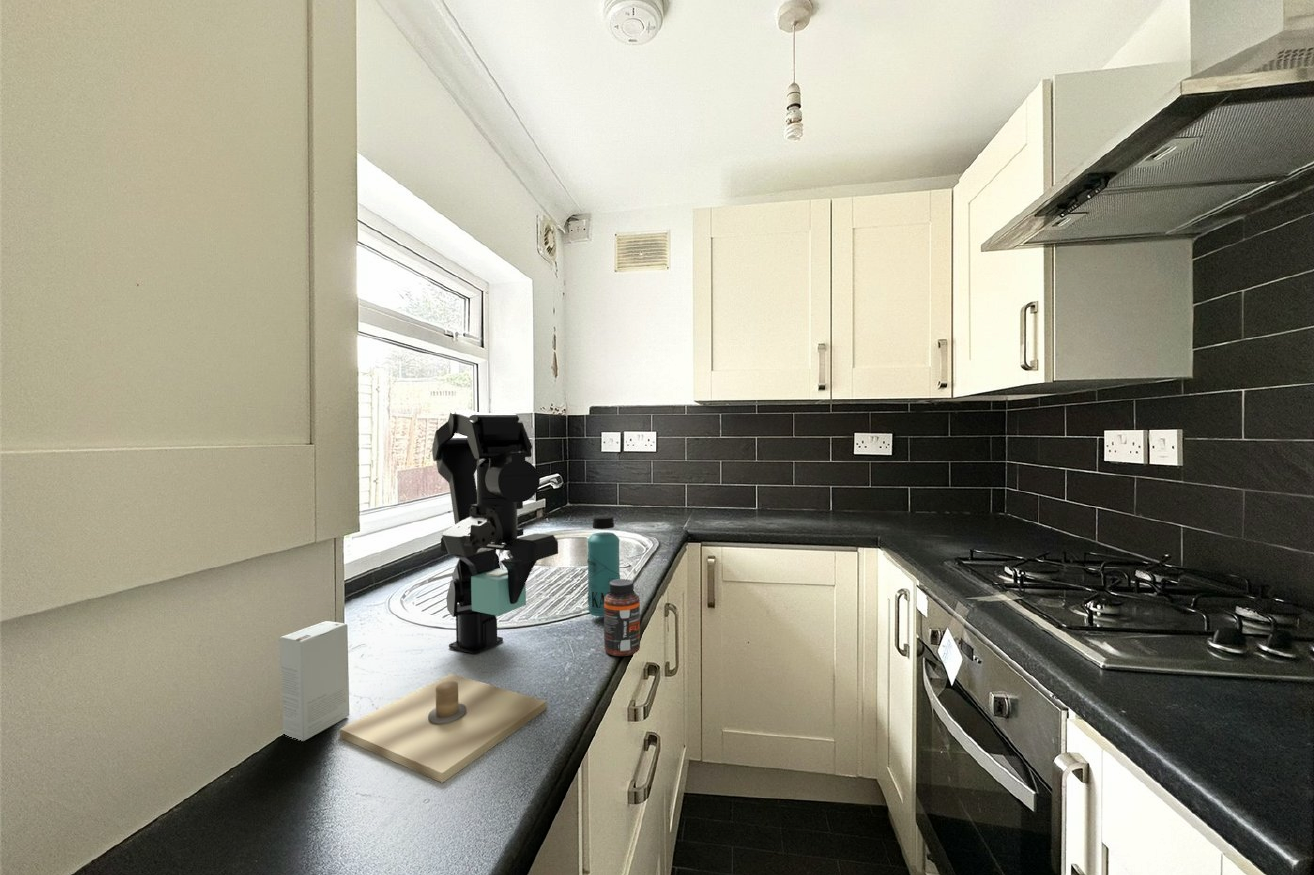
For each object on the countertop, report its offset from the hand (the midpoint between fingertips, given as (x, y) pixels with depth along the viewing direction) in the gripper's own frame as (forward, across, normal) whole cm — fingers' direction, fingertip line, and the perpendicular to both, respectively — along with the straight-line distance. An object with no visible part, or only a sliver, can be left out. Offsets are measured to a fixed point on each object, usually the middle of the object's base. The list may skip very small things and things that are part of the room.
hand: (499, 600), depth 77 cm
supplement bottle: (+11, +12, +15) cm, 22 cm away
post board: (+11, +4, -13) cm, 17 cm away
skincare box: (+11, -10, -21) cm, 26 cm away
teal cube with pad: (+1, 0, 0) cm, 1 cm away
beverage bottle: (+11, +1, +26) cm, 29 cm away
